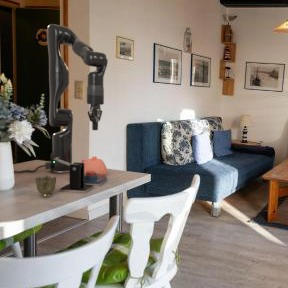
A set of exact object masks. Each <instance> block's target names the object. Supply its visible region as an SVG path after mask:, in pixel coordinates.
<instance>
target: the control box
mask: <svg viewBox="0 0 288 288" xmlns="http://www.w3.org/2000/svg"><path fill="white" fill-rule="evenodd" d="M107 180H108V176H105V175H104V176H99V174H97V173H95V175H93V176H87V175H86V173H85V174H84V184H88V185H100V184H102V183H103V182H105V181H107Z"/></svg>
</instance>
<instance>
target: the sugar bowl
mask: <svg viewBox="0 0 288 288" xmlns="http://www.w3.org/2000/svg"><path fill="white" fill-rule="evenodd" d="M80 163H84V174H85V173H86V172H87V171H95V173H97V174H99V176H105V175H106V174H107V173H108V169H107V165H106V163H105V162H104V160H103V159H102V158H98V156H91V158H83V159H82V160H81V161H80Z"/></svg>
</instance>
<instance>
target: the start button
mask: <svg viewBox="0 0 288 288" xmlns="http://www.w3.org/2000/svg"><path fill="white" fill-rule="evenodd" d="M86 175H87V176H93V175H95V171H87V172H86Z"/></svg>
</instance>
